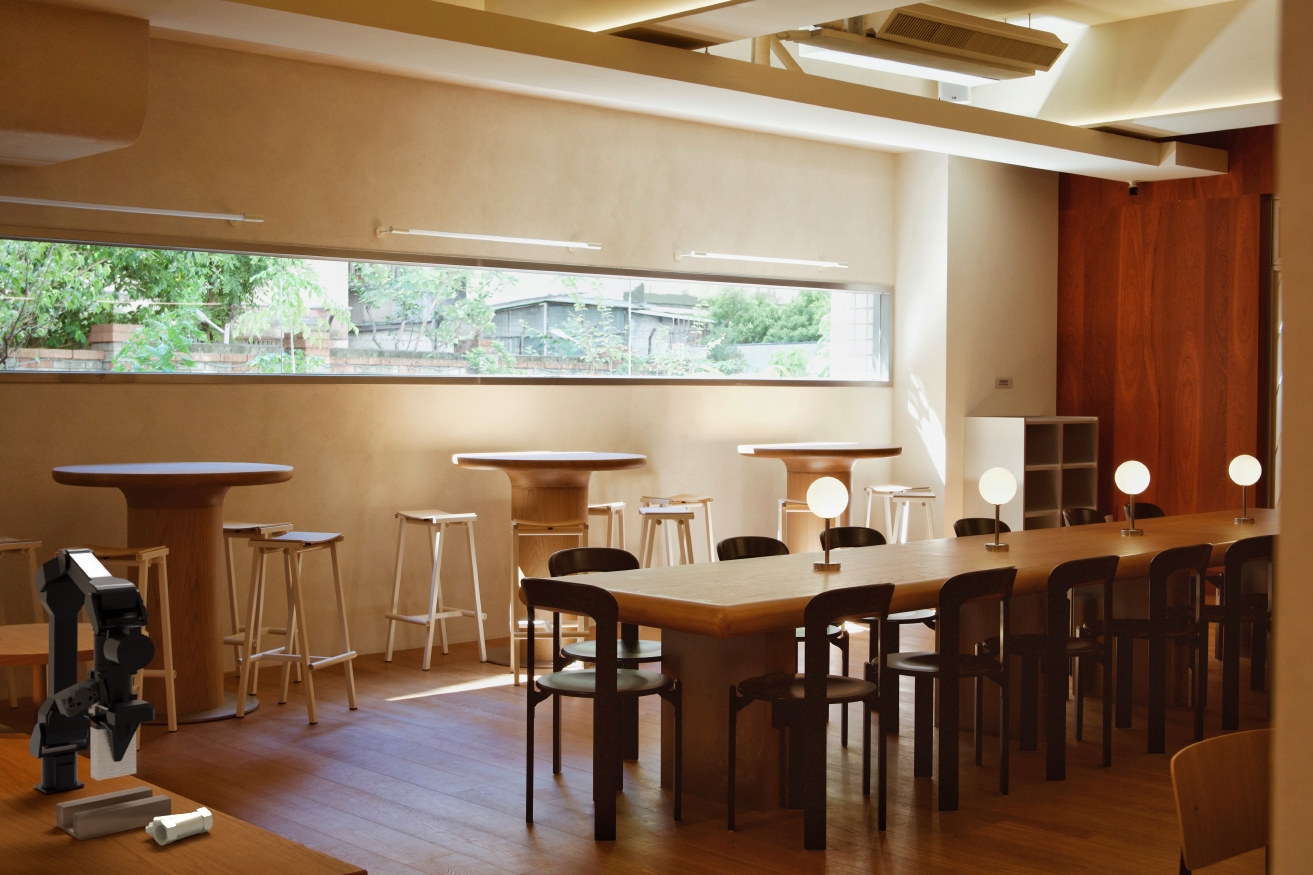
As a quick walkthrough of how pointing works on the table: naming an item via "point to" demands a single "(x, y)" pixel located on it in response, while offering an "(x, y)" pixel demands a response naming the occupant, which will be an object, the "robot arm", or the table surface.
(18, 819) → the table surface
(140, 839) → the table surface
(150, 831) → the pipe fitting
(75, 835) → the grey u-channel
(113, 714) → the robot arm
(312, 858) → the table surface
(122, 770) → the brushed metal bar
